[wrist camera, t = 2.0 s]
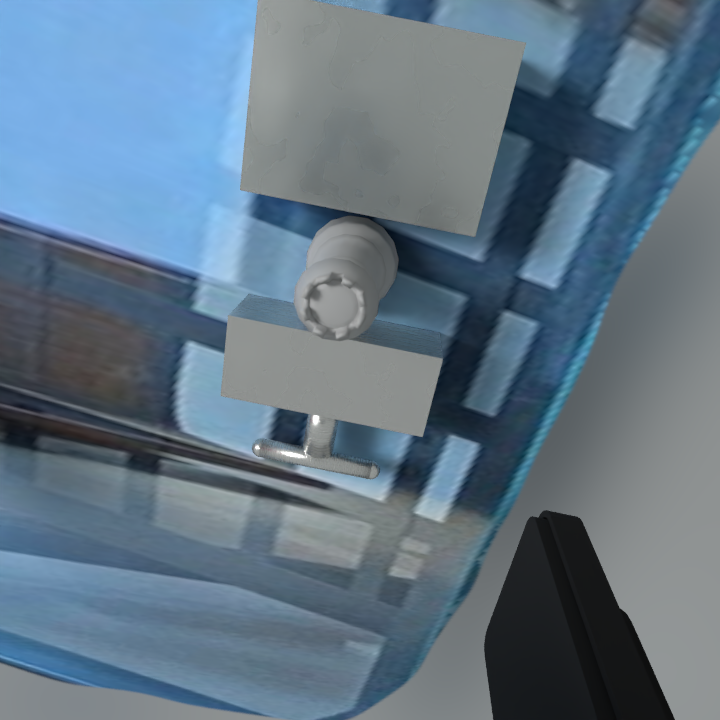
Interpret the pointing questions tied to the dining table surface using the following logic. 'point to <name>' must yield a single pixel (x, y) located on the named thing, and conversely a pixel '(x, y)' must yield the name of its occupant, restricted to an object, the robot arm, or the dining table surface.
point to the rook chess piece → (345, 278)
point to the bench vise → (361, 198)
